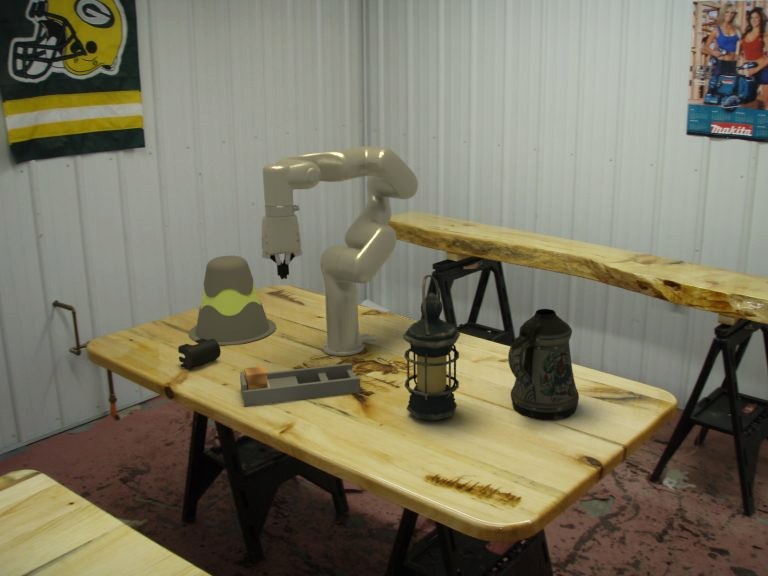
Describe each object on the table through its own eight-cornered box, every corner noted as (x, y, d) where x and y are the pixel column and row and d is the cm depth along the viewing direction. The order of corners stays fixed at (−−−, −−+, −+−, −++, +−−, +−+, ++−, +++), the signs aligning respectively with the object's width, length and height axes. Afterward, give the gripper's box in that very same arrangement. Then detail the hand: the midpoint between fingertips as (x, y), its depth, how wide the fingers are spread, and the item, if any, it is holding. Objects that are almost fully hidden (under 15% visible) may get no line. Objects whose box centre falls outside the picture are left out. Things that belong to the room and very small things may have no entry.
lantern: (452, 430, 183) (452, 286, 173) (397, 423, 187) (395, 283, 177) (464, 404, 196) (465, 270, 186) (413, 399, 200) (411, 267, 190)
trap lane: (351, 376, 215) (351, 357, 213) (360, 392, 204) (359, 373, 203) (241, 389, 208) (239, 370, 206) (244, 406, 198) (242, 386, 196)
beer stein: (583, 398, 198) (589, 304, 191) (568, 431, 181) (573, 329, 174) (519, 388, 205) (522, 297, 198) (499, 419, 188) (501, 321, 181)
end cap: (193, 373, 220) (191, 350, 218) (178, 367, 224) (176, 345, 222) (222, 362, 227) (220, 340, 225) (206, 356, 231) (204, 335, 229)
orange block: (264, 383, 205) (263, 365, 204) (268, 390, 201) (266, 372, 199) (245, 386, 204) (244, 368, 202) (248, 393, 199) (247, 375, 198)
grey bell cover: (170, 335, 250) (162, 262, 243) (233, 311, 272) (228, 244, 265) (232, 352, 235) (225, 275, 228) (293, 325, 256) (289, 254, 250)
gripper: (305, 206, 212) (308, 272, 217) (249, 210, 209) (254, 276, 214) (309, 211, 205) (313, 279, 210) (252, 215, 202) (257, 283, 207)
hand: (283, 277), depth 212 cm, fingers closed
